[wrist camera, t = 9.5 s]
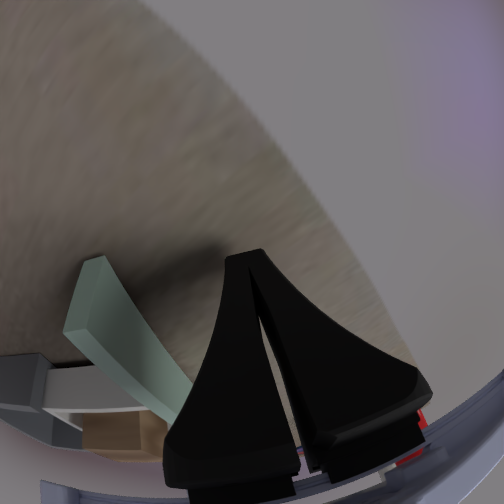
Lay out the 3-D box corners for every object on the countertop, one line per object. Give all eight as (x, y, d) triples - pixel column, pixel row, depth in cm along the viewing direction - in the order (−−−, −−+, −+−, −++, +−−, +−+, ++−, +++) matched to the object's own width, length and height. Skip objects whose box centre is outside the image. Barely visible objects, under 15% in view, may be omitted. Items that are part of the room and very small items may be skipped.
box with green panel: (211, 406, 20) (218, 444, 18) (112, 416, 20) (113, 450, 17) (104, 255, 10) (86, 328, 7) (-25, 296, 9) (-46, 347, 6)
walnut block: (165, 407, 18) (171, 461, 15) (117, 411, 18) (118, 461, 14) (138, 384, 15) (141, 450, 12) (85, 389, 15) (82, 448, 12)
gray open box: (122, 416, 21) (123, 453, 18) (53, 415, 20) (51, 447, 17) (39, 353, 13) (29, 406, 10) (-24, 357, 13) (-34, 397, 10)
